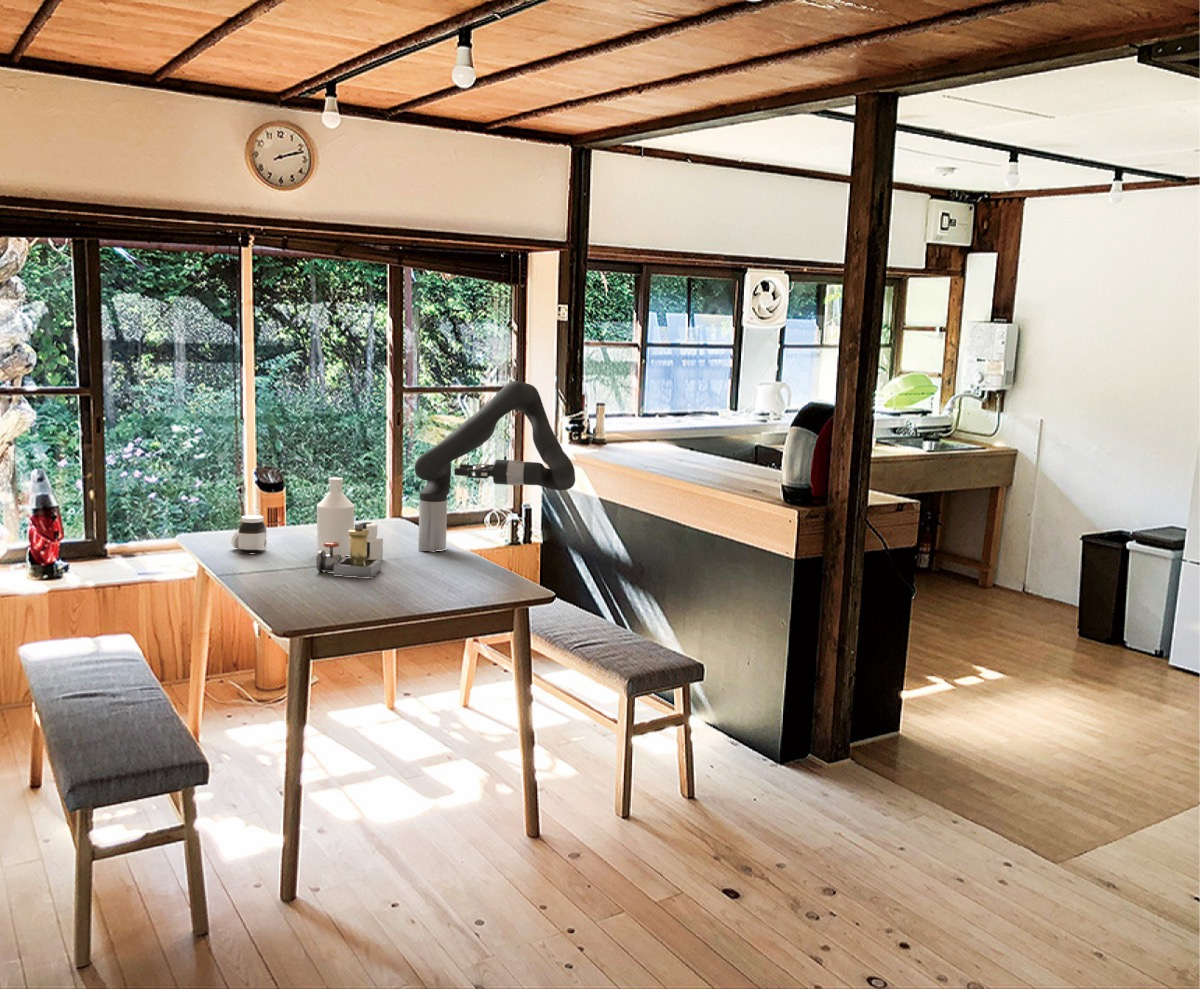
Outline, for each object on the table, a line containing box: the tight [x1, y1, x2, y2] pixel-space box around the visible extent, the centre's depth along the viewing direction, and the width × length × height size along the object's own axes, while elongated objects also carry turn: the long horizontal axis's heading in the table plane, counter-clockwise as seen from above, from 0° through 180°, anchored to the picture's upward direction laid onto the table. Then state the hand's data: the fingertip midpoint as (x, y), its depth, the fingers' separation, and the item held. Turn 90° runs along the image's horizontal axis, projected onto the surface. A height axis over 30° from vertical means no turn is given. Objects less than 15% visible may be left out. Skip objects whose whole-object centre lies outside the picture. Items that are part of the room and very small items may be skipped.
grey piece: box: [316, 542, 382, 578], centre depth 322 cm, size 11×17×9 cm, turn 87°
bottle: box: [316, 476, 355, 556], centre depth 346 cm, size 12×12×25 cm
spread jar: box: [230, 514, 268, 554], centre depth 345 cm, size 12×11×12 cm
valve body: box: [348, 522, 369, 566], centre depth 321 cm, size 6×6×15 cm
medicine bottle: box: [361, 521, 384, 560], centre depth 340 cm, size 7×7×12 cm
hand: (457, 469), depth 325 cm, fingers open, 8 cm apart
